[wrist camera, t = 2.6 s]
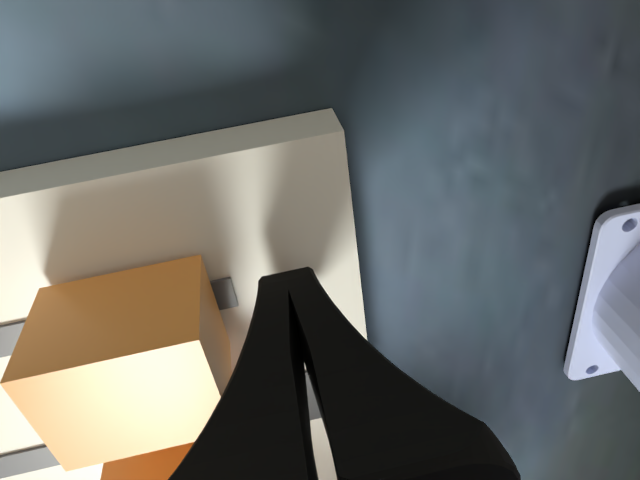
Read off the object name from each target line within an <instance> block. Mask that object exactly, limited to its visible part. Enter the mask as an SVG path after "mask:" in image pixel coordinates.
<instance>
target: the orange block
mask: <svg viewBox="0 0 640 480" xmlns="http://www.w3.org/2000/svg"><path fill="white" fill-rule="evenodd" d="M231 375H232V373H231V351H230V341H229V338H228V335H227V332H226V329H225V326H224V323H223V320H222V317H221V314H220V311H219V308H218V305H217V302H216V299H215V296H214V293H213V290H212V287H211V284H210V280H209V277H208V274H207V271H206V268H205V265H204V262H203V259H202V256H201V255H196V256H191V257H186V258H182V259H177V260H172V261H167V262H162V263H158V264H153V265H148V266H143V267H138V268H134V269H129V270H124V271H119V272H114V273H110V274H105V275H100V276H95V277H91V278H86V279H81V280H76V281H71V282H67V283H62V284H57V285H52V286H47V287H43V288H39V290H38V292H37V295H36V297H35V300H34V302H33V304H32V307H31V309H30V312H29V314H28V316H27V319H26V321H25V324H24V326H23V329H22V331H21V333H20V336H19V338H18V341H17V343H16V345H15V348H14V350H13V353H12V355H11V358H10V360H9V362H8V365H7V367H6V370H5V372H4V374H3V377H2V379H1V382H0V385H1V386H2V387H3V389H4V390H5V391H6V393H7V394H8V395H9V397H10V398H11V399H12V401H13V402H14V403H15V405H16V406H17V407H18V409H19V410H20V411H21V413H22V414H23V415H24V417H25V418H26V419H27V421H28V422H29V423H30V425H31V426H32V427H33V429H34V430H35V431H36V433H37V434H38V435H39V437H40V438H41V439H42V441H43V442H44V443H45V445H46V446H47V447H48V449H49V450H50V451H51V453H52V454H53V455H54V457H55V458H56V459H57V461H58V462H59V463H60V465H61V466H62V467H63V469H64V470H65V471H66V472H67V471H71V470H75V469H79V468H84V467H88V466H92V465H97V464H101V463H105V462H110V461H114V460H118V459H123V458H127V457H131V456H135V455H140V454H144V453H148V452H153V451H157V450H161V449H166V448H170V447H174V446H179V445H183V444H187V443H192V442H195V441H196V439H197V438H198V436H199V435H200V433H201V432H202V430H203V428H204V427H205V425H206V423H207V422H208V420H209V418H210V417H211V415H212V413H213V411H214V409H215V407H216V405H217V404H218V402H219V400H220V398H221V396H222V394H223V392H224V390H225V388H226V386H227V384H228V382H229V380H230V377H231Z"/></svg>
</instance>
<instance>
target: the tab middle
mask: <svg viewBox="0 0 640 480" xmlns="http://www.w3.org/2000/svg"><path fill="white" fill-rule="evenodd" d="M193 444H194V442H192V443H187V444H183V445H179V446H174V447H170V448H166V449H161V450H157V451H153V452H148V453H144V454H140V455H135V456H131V457H127V458H123V459H118V460H114V461H110V462H105V463H103V468H102V473H101V479H100V480H168V479H169V477H170V476H171V475H172V473H173V472H174V471H175V470H176V468H177V467H178V466H179V464H180V463H181V461H182V460H183V459H184V457H185V456H186V454H187V453H188V451H189V450H190V448H191V447H192V445H193Z"/></svg>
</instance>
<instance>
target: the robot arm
mask: <svg viewBox="0 0 640 480" xmlns="http://www.w3.org/2000/svg"><path fill="white" fill-rule="evenodd" d="M627 220H628V221H627ZM626 221H627V222H626ZM304 363H305V365H304ZM305 366H306V370H307V373H308V376H309V379H310V383H311V386H312V389H313V392H314V395H315V399H316V402H317V405H318V408H319V411H320V415H321V418H322V421H323V424H324V427H325V431H326V434H327V437H328V441H329V445H330V449H331V453H332V457H333V462H334V467H335V471H336V476H337V480H521V479H520V474H519V472H518V470H517V468H516V465H515V464H514V462H513V460H512V459H511V457H510V456H509V454H508V453H507V451H506V450H505V448H504V447H503V445H502V444H501V443H500V441H499V440H498V438H497V437H496V436H495V435H494V433H493V432H492V431H491V430H490V428H489V427H488V426H487V425H486V424H485V423H484V422H482V421H480V420H478V419H476V418H474V417H472V416H471V415H469V414H467V413H465V412H463V411H462V410H460V409H458V408H456V407H455V406H453V405H451V404H449V403H448V402H446V401H445V400H443V399H441V398H440V397H438V396H437V395H435V394H433V393H432V392H430V391H429V390H428V389H426V388H425V387H423V386H422V385H421V384H419V383H418V382H416V381H415V380H414V379H412V378H411V377H409V376H408V375H407V374H405V373H404V372H403V371H401V370H400V369H399V368H398V367H396V366H395V365H394V364H393V363H391V362H390V361H389V360H388V359H387V358H386V357H384V356H383V355H382V354H381V353H380V352H379V351H378V350H377V349H375V348H374V347H373V346H372V345H371V344H370V343H369V342H368V341H367V340H366V339H365V338H364V337H363V336H362V335H361V334H360V333H359V332H358V331H357V329H356V328H355V327H354V326H353V325H352V324H351V323H350V322H349V321H348V320H347V318H346V317H345V316H344V315H343V314H342V312H341V311H340V310H339V309H338V307H337V306H336V305H335V304H334V302H333V301H332V300H331V298H330V297H329V296H328V294H327V293H326V291H325V290H324V288H323V287H322V285H321V284H320V282H319V280H318V279H317V277H316V275H315V273H314V270H313V269H312V268H310V267H304V268H299V269H294V270H290V271H285V272H280V273H276V274H271V275H266V276H262V277H261V278H260V279H259V281H258V291H257V297H256V302H255V307H254V311H253V315H252V319H251V322H250V326H249V329H248V333H247V336H246V339H245V342H244V345H243V347H242V350H241V353H240V355H239V358H238V361H237V363H236V366H235V368H234V371H233V373H232V375H231V377H230V380H229V382H228V384H227V386H226V388H225V390H224V392H223V394H222V396H221V398H220V400H219V402H218V404H217V405H216V407H215V409H214V411H213V413H212V415H211V417H210V418H209V420H208V422H207V423H206V425H205V427H204V428H203V430H202V432H201V433H200V435H199V436H198V438H197V439H196V441H195V442H194V444H193V445H192V447H191V448H190V450H189V451H188V453H187V454H186V456H185V457H184V459H183V460H182V461H181V463H180V464H179V466H178V467H177V468H176V470H175V471H174V472H173V473H172V475H171V476H170V477H169V479H168V480H319V479H318V474H317V469H316V464H315V458H314V452H313V445H312V437H311V427H310V416H309V406H308V395H307V385H306V375H305ZM618 370H622V371H623V372H624V374H625V375H626V376H627V377H628V378H629V380H630V381H631V382H632V383H633V384H634V386H635V387H636V388H637V389H638V390H639V392H640V203H639V204H635V205H630V206H625V207H621V208H616V209H611V210H609V211H606V212H604V213H603V214H601V215H600V216H599V217H598V218H597V220H596V222H595V224H594V228H593V232H592V237H591V242H590V246H589V251H588V256H587V261H586V265H585V270H584V275H583V279H582V284H581V289H580V294H579V298H578V303H577V308H576V312H575V317H574V322H573V327H572V331H571V336H570V341H569V345H568V350H567V355H566V360H565V364H564V372H565V374H566V375H567V377H568V378H569V379H571V380H580V379H584V378H588V377H593V376H597V375H601V374H605V373H610V372H614V371H618Z"/></svg>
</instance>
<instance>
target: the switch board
mask: <svg viewBox="0 0 640 480" xmlns="http://www.w3.org/2000/svg"><path fill="white" fill-rule="evenodd" d="M196 255H201V256H202V259H203V262H204V265H205V268H206V271H207V274H208V277H209V280H210V284H211V287H212V290H213V293H214V296H215V299H216V302H217V305H218V308H219V311H220V314H221V317H222V320H223V323H224V326H225V329H226V332H227V335H228V338H229V341H230V351H231V373H233V371H234V368H235V366H236V363H237V361H238V358H239V355H240V353H241V350H242V347H243V345H244V342H245V339H246V336H247V333H248V329H249V326H250V322H251V319H252V315H253V311H254V307H255V302H256V297H257V291H258V281H259V279H260V278H261V277H262V276H266V275H271V274H276V273H280V272H285V271H290V270H294V269H299V268H304V267H310V268H312V269H313V270H314V273H315V275H316V277H317V279H318V280H319V282H320V284H321V285H322V287H323V288H324V290H325V291H326V293H327V294H328V296H329V297H330V298H331V300H332V301H333V302H334V304H335V305H336V306H337V307H338V309H339V310H340V311H341V312H342V314H343V315H344V316H345V317H346V318H347V320H348V321H349V322H350V323H351V324H352V325H353V326H354V327H355V328H356V329H357V331H358V332H359V333H360V334H361V335H362V336H363V337H364V338H365V339H366V340H367V333H366V324H365V315H364V306H363V297H362V288H361V279H360V270H359V261H358V252H357V243H356V234H355V225H354V216H353V207H352V198H351V189H350V180H349V171H348V162H347V153H346V144H345V135H344V130H343V128H342V126H341V124H340V122H339V120H338V119H337V117H336V115H335V113H334V111H333V109H332V108H329V109H324V110H318V111H313V112H308V113H303V114H298V115H293V116H287V117H282V118H277V119H272V120H267V121H262V122H256V123H251V124H246V125H241V126H236V127H230V128H225V129H220V130H215V131H210V132H205V133H199V134H194V135H189V136H184V137H179V138H173V139H168V140H163V141H158V142H153V143H148V144H142V145H137V146H132V147H127V148H122V149H116V150H111V151H106V152H101V153H96V154H91V155H85V156H80V157H75V158H70V159H65V160H59V161H54V162H49V163H44V164H39V165H34V166H28V167H23V168H18V169H13V170H8V171H2V172H0V382H1V379H2V377H3V374H4V372H5V370H6V367H7V365H8V362H9V360H10V358H11V355H12V353H13V350H14V348H15V345H16V343H17V341H18V338H19V336H20V333H21V331H22V329H23V326H24V324H25V321H26V319H27V316H28V314H29V312H30V309H31V307H32V304H33V302H34V300H35V297H36V295H37V292H38V290H39V288H43V287H47V286H52V285H57V284H62V283H67V282H71V281H76V280H81V279H86V278H91V277H95V276H100V275H105V274H110V273H114V272H119V271H124V270H129V269H134V268H138V267H143V266H148V265H153V264H158V263H162V262H167V261H172V260H177V259H182V258H186V257H191V256H196ZM304 365H305V363H304ZM305 375H306V385H307V395H308V406H309V416H310V427H311V437H312V445H313V452H314V458H315V464H316V469H317V474H318V479H319V480H337V476H336V471H335V467H334V462H333V457H332V453H331V449H330V445H329V441H328V437H327V434H326V431H325V427H324V424H323V421H322V418H321V415H320V411H319V408H318V405H317V402H316V399H315V395H314V392H313V389H312V386H311V383H310V379H309V376H308V373H307V370H306V366H305ZM102 468H103V463H101V464H97V465H92V466H88V467H84V468H79V469H75V470H71V471H67V472H66V471H65V470H64V469H63V467H62V466H61V465H60V463H59V462H58V461H57V459H56V458H55V457H54V455H53V454H52V453H51V451H50V450H49V449H48V447H47V446H46V445H45V443H44V442H43V441H42V439H41V438H40V437H39V435H38V434H37V433H36V431H35V430H34V429H33V427H32V426H31V425H30V423H29V422H28V421H27V419H26V418H25V417H24V415H23V414H22V413H21V411H20V410H19V409H18V407H17V406H16V405H15V403H14V402H13V401H12V399H11V398H10V397H9V395H8V394H7V393H6V391H5V390H4V389H3V387H2V386H1V385H0V480H100V479H101V473H102Z"/></svg>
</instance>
